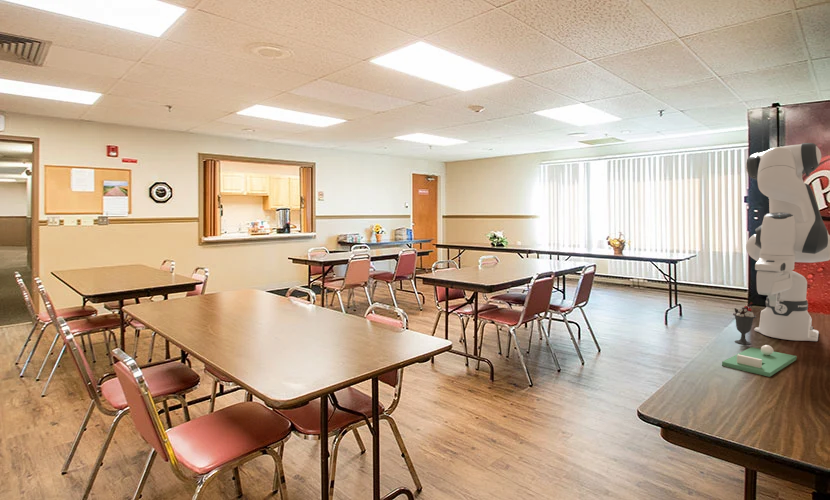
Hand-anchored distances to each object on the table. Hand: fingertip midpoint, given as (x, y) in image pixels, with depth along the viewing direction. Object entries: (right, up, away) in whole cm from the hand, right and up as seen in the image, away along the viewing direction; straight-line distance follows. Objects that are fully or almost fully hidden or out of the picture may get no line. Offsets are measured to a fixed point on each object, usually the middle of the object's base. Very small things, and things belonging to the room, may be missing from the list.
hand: (774, 305), depth 144 cm
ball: (-3, -14, -1) cm, 15 cm away
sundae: (+2, -16, +16) cm, 22 cm away
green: (-8, -17, -4) cm, 20 cm away
